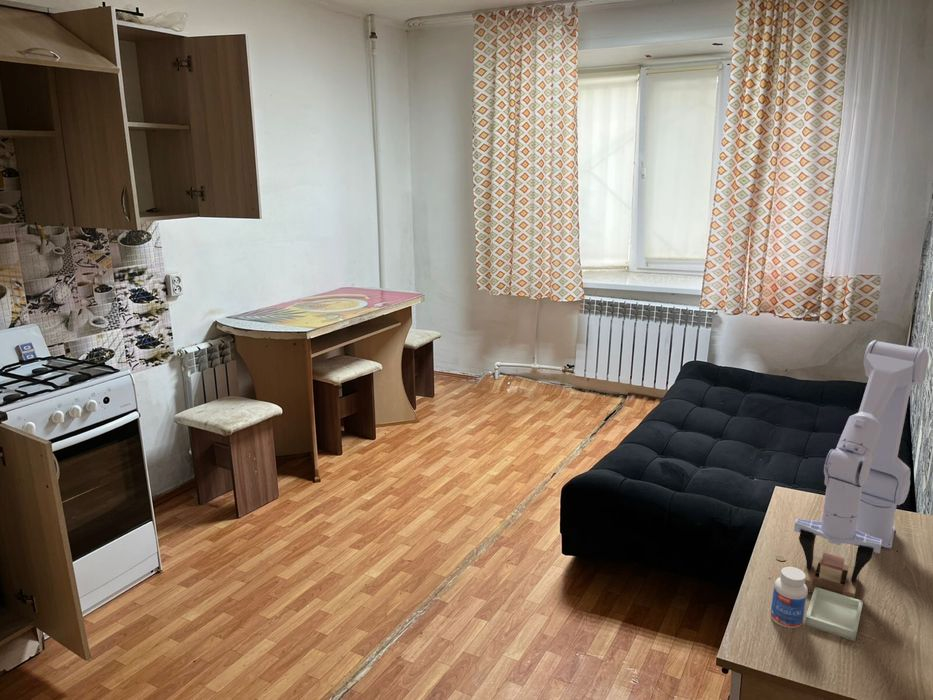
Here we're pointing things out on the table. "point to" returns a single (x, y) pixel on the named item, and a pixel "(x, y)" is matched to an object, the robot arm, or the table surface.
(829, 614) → the tray
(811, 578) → the wooden square frame
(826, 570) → the pink-ended wooden beam
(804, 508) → the table surface
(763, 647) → the table surface
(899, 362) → the robot arm
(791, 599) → the pill bottle
